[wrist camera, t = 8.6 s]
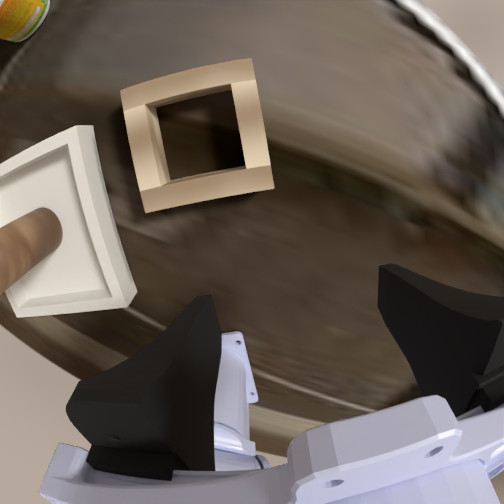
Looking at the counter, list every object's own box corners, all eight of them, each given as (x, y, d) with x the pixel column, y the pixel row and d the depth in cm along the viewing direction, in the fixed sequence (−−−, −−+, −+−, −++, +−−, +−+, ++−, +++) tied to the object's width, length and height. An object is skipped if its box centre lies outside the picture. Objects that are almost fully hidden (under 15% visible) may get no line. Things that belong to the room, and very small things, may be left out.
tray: (137, 291, 24) (127, 307, 21) (29, 305, 24) (17, 317, 22) (92, 125, 18) (76, 125, 16) (-13, 177, 19) (-30, 183, 17)
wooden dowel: (68, 248, 22) (5, 302, 13) (37, 254, 22) (-24, 304, 13) (55, 202, 20) (-18, 242, 12) (24, 212, 20) (-45, 251, 12)
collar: (271, 182, 21) (274, 188, 18) (156, 204, 21) (145, 213, 19) (250, 66, 17) (251, 57, 15) (133, 94, 18) (120, 90, 16)
